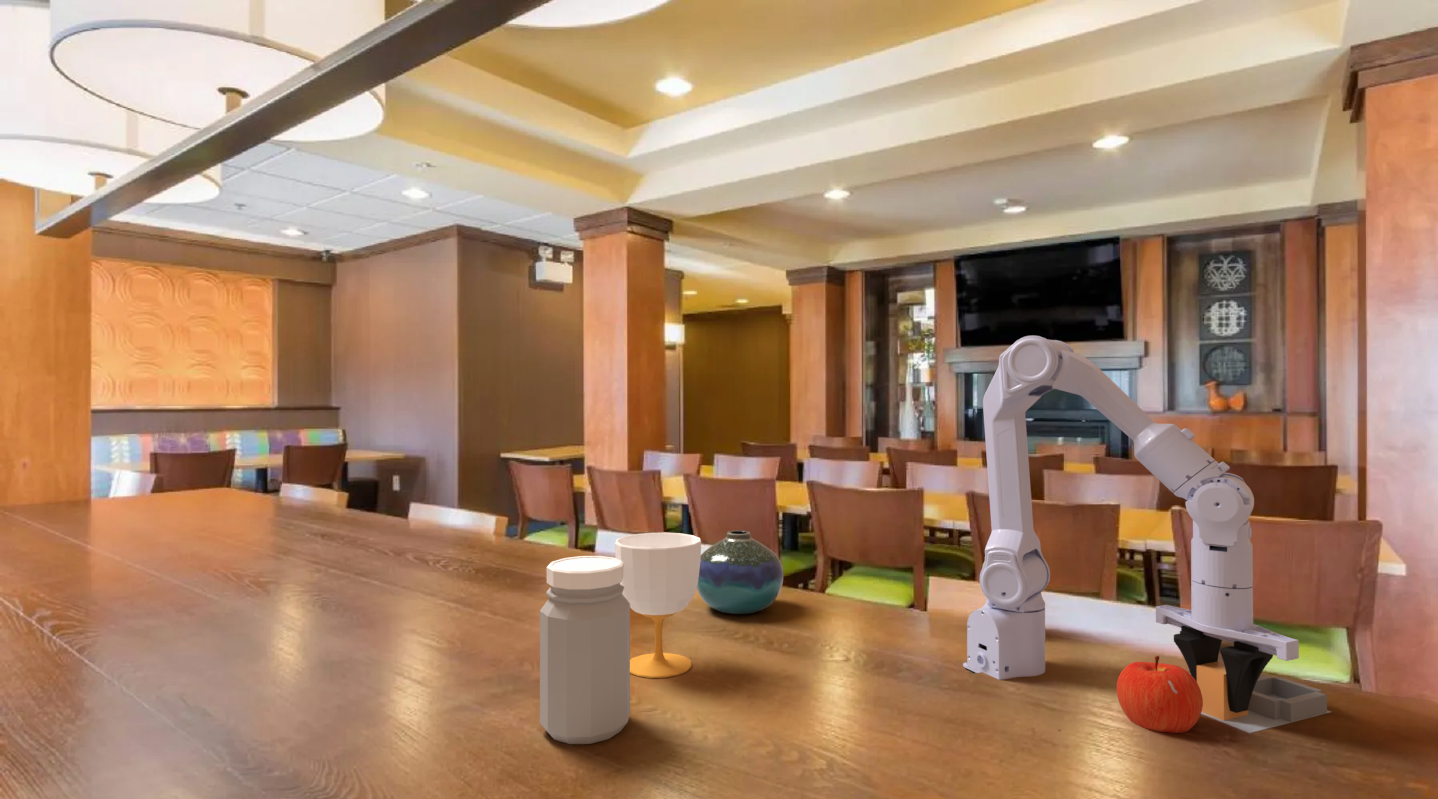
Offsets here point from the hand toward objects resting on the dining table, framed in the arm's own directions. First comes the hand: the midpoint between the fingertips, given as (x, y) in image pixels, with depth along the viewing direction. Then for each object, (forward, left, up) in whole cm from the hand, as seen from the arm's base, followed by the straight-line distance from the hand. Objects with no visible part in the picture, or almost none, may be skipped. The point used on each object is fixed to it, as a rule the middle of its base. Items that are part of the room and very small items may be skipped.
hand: (1222, 704), depth 82 cm
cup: (-54, +40, -2) cm, 67 cm away
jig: (+4, +3, -2) cm, 5 cm away
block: (0, 0, -1) cm, 1 cm away
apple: (-9, +1, -2) cm, 9 cm away
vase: (-33, +61, -2) cm, 69 cm away
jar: (-67, +25, -2) cm, 71 cm away
